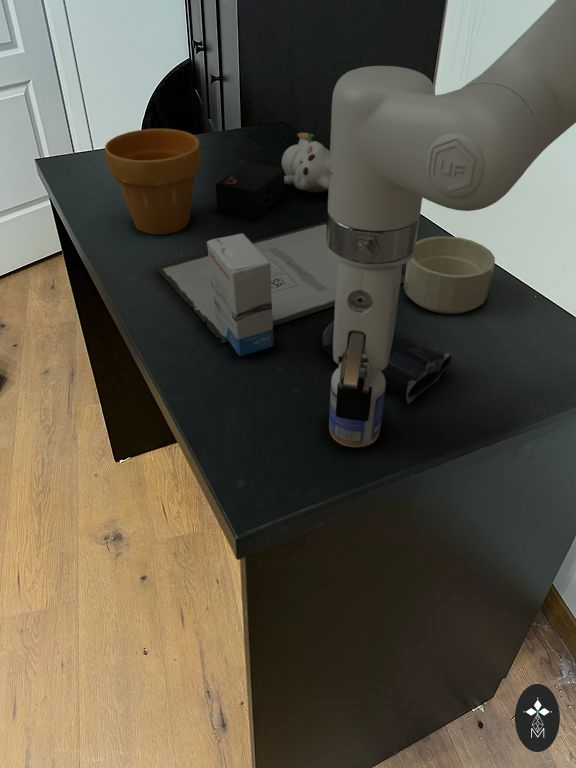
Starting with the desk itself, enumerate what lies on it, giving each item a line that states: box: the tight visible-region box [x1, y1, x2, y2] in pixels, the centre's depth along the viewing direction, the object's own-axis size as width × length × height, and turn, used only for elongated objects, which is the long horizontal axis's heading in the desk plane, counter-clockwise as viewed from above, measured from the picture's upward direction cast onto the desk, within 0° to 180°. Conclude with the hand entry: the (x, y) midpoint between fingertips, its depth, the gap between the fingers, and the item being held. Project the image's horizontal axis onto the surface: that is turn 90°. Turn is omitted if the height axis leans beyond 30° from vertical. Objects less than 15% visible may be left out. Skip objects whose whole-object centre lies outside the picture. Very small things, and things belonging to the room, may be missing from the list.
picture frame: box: [155, 221, 405, 344], centre depth 94 cm, size 22×1×30 cm
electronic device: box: [215, 161, 285, 220], centre depth 111 cm, size 7×11×5 cm
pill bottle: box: [328, 354, 386, 448], centre depth 66 cm, size 5×5×10 cm
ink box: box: [206, 232, 275, 357], centre depth 78 cm, size 9×5×12 cm, turn 25°
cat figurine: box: [281, 132, 330, 194], centre depth 116 cm, size 10×8×15 cm
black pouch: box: [321, 320, 453, 405], centre depth 77 cm, size 9×6×15 cm
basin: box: [403, 235, 496, 315], centre depth 88 cm, size 11×11×6 cm
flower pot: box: [104, 128, 202, 236], centre depth 103 cm, size 14×14×13 cm
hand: (357, 396), depth 66 cm, fingers closed on pill bottle, 5 cm apart
